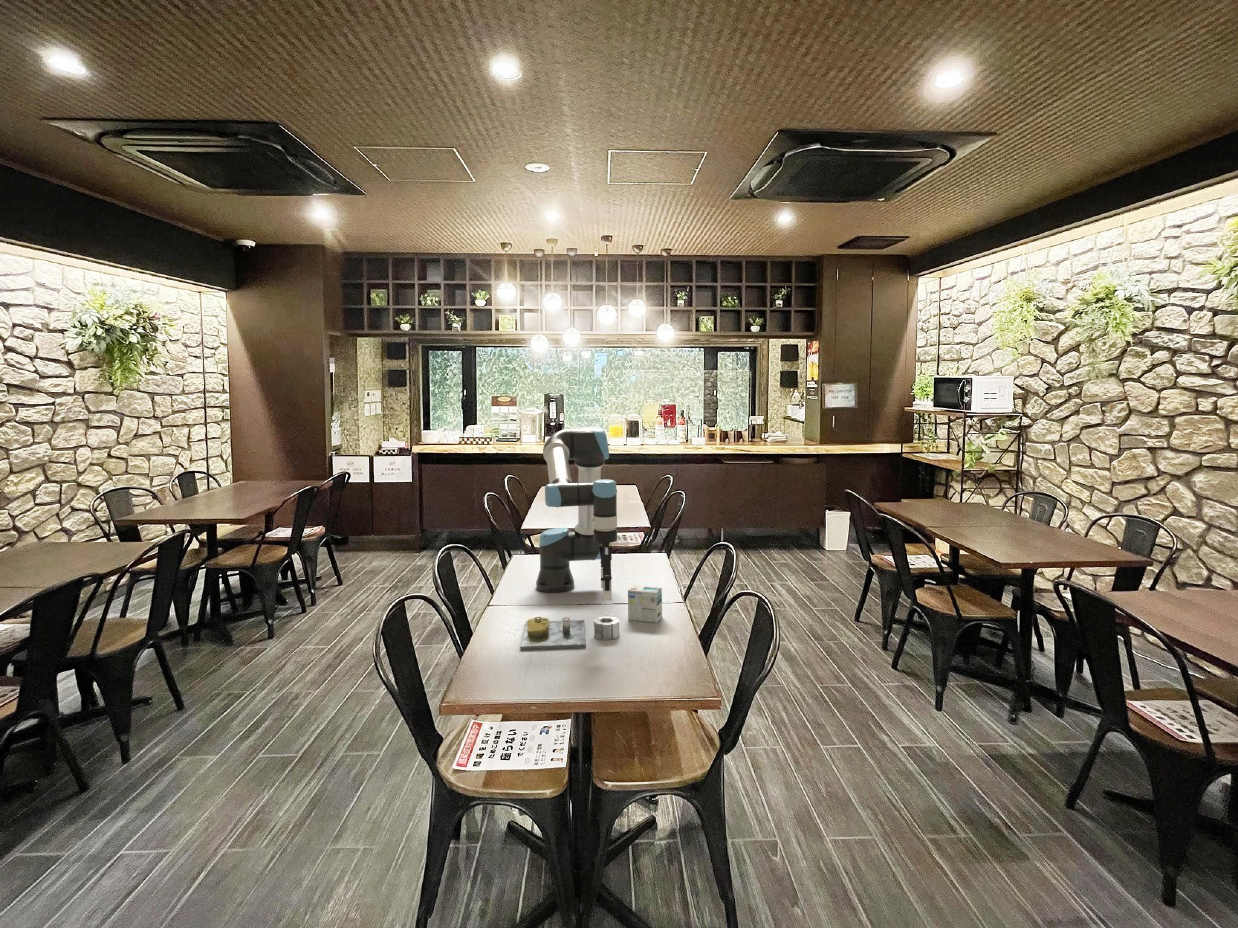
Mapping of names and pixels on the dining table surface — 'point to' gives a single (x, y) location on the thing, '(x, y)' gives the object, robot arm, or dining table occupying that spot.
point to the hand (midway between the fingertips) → (606, 593)
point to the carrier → (553, 634)
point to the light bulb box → (645, 603)
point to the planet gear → (606, 628)
